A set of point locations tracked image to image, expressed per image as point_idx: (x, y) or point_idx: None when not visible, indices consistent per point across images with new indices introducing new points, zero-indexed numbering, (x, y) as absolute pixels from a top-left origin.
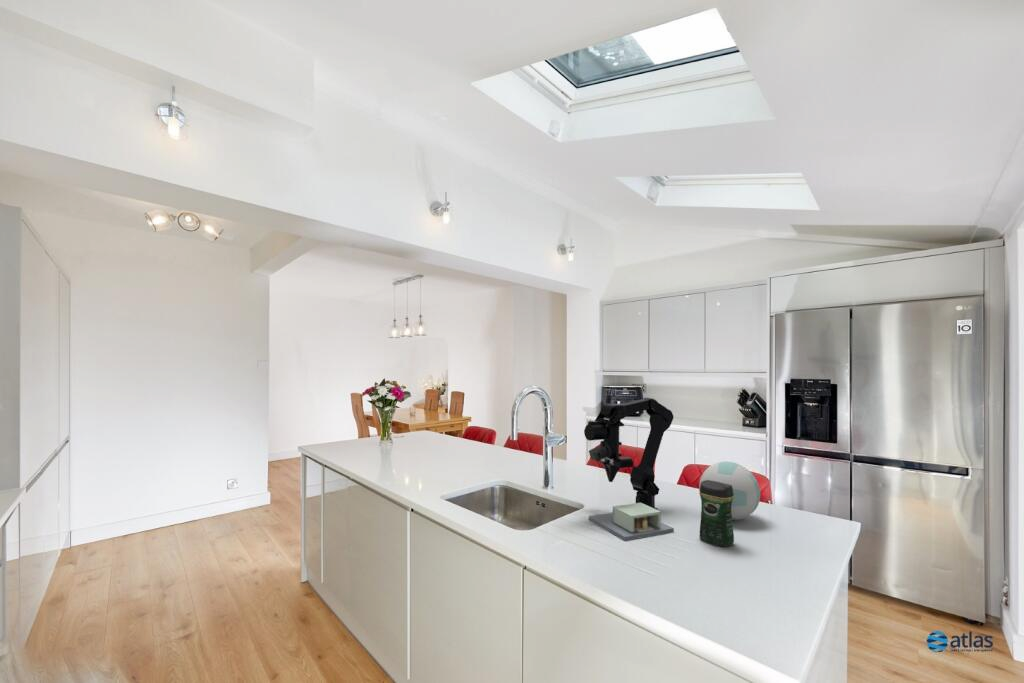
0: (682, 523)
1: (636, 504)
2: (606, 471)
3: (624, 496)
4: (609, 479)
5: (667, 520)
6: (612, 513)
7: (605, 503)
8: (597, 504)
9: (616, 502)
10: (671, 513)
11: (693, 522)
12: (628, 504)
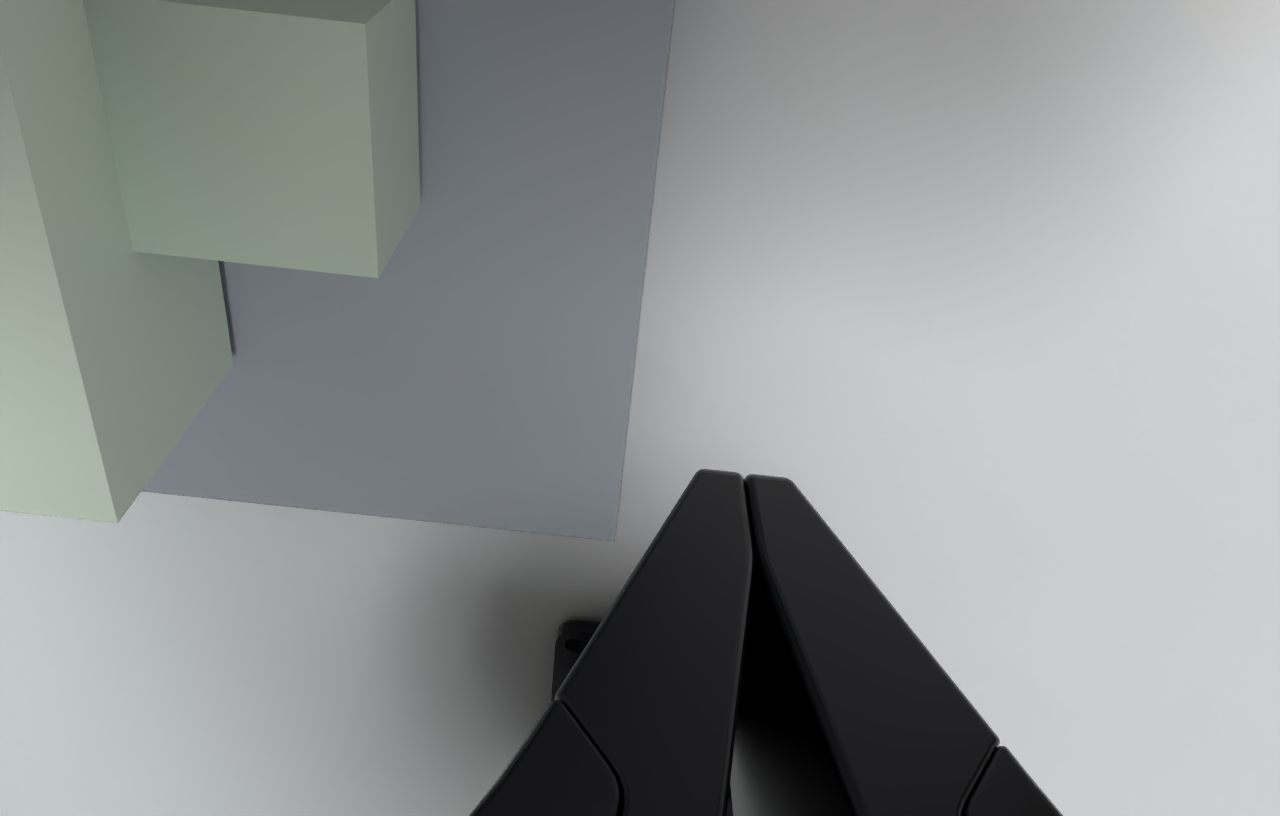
0: (76, 684)
1: (4, 372)
2: (962, 778)
3: (1175, 809)
4: (724, 517)
5: (208, 630)
6: (615, 91)
7: (1191, 441)
8: (1268, 296)
9: (1094, 595)
10: (402, 799)
11: (85, 777)
12: (26, 216)
